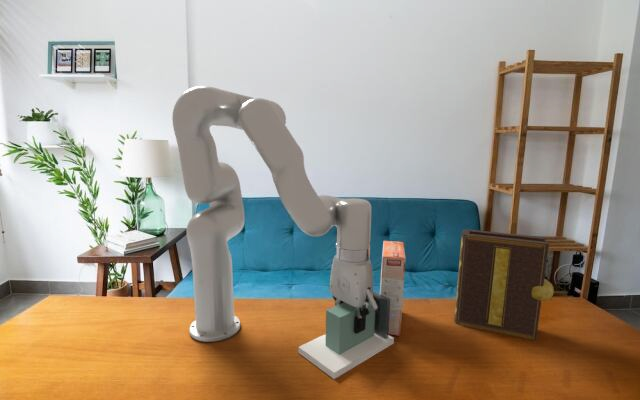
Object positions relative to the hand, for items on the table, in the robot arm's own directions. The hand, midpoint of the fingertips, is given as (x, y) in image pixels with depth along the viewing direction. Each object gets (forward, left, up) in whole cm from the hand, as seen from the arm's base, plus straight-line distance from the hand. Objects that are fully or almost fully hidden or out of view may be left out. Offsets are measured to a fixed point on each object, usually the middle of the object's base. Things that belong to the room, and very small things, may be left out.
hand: (350, 325), depth 85 cm
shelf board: (0, -1, -5) cm, 6 cm away
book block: (0, 0, -4) cm, 4 cm away
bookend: (0, +7, -4) cm, 8 cm away
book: (+20, +36, -6) cm, 42 cm away
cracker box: (-1, +17, -6) cm, 17 cm away
